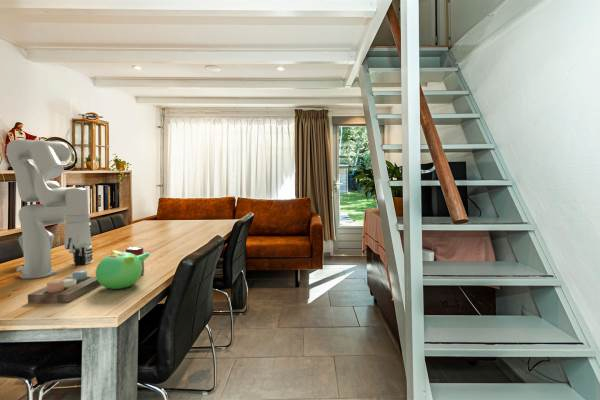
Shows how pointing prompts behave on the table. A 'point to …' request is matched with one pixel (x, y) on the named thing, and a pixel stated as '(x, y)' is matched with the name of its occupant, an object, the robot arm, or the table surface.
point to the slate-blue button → (80, 275)
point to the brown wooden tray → (64, 292)
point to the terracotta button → (55, 287)
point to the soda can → (136, 252)
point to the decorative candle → (88, 250)
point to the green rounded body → (120, 269)
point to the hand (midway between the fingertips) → (80, 265)
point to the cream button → (69, 282)
